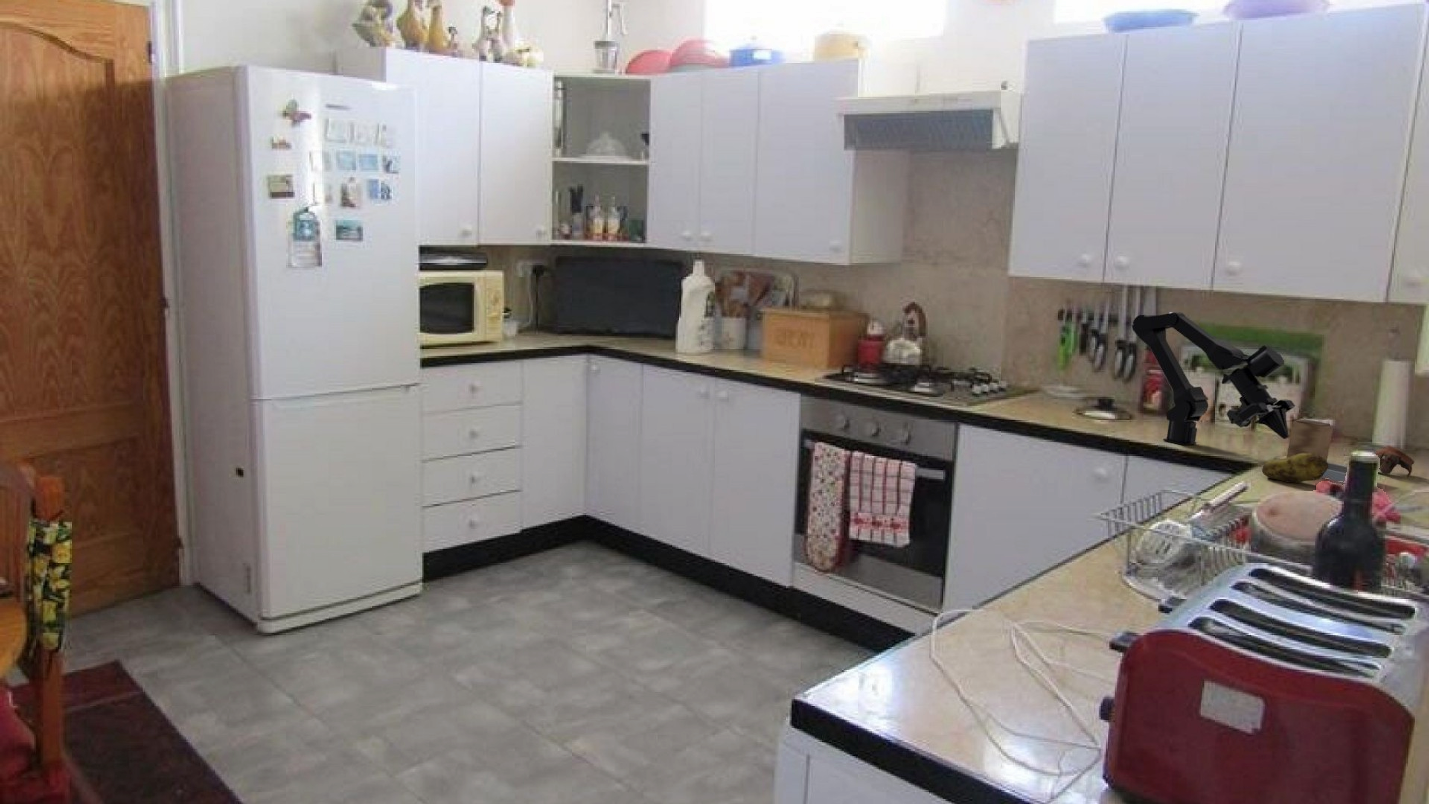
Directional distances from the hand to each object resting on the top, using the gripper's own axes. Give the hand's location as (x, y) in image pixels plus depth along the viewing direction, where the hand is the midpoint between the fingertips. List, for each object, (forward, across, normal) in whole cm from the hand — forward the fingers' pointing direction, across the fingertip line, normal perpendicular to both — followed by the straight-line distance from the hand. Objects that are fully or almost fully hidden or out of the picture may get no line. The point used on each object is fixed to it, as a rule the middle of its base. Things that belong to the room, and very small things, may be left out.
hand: (1286, 438), depth 262 cm
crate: (+9, 0, -1) cm, 9 cm away
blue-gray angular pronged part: (+12, 0, +1) cm, 12 cm away
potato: (+13, +18, +2) cm, 22 cm away
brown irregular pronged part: (+17, -20, +6) cm, 27 cm away
